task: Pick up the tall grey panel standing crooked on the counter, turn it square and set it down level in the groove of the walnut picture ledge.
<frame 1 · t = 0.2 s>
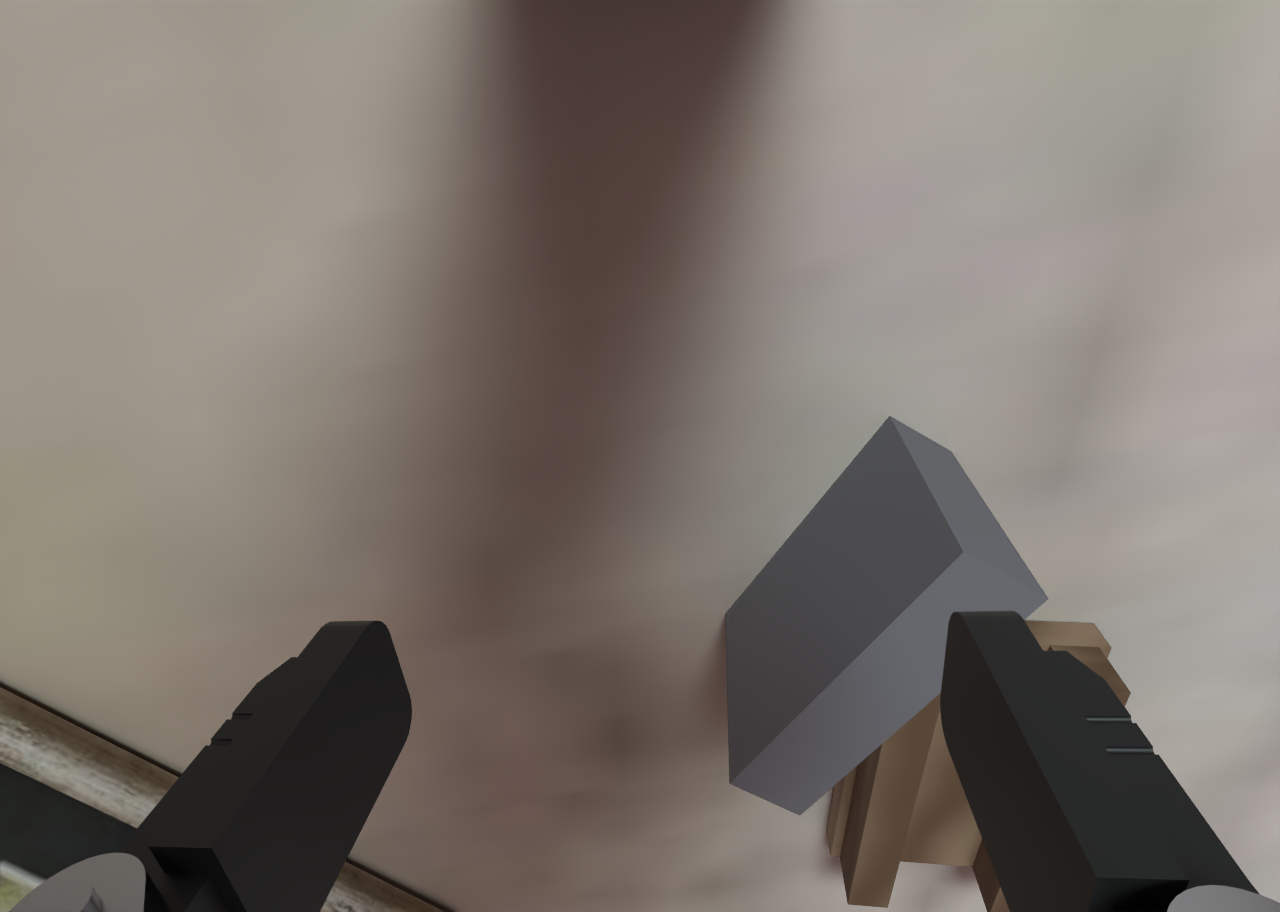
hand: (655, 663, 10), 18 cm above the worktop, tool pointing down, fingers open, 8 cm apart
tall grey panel: (828, 538, 30), on the worktop
picture ledge: (944, 739, 35), on the worktop
picture frame: (215, 829, 45), on the worktop
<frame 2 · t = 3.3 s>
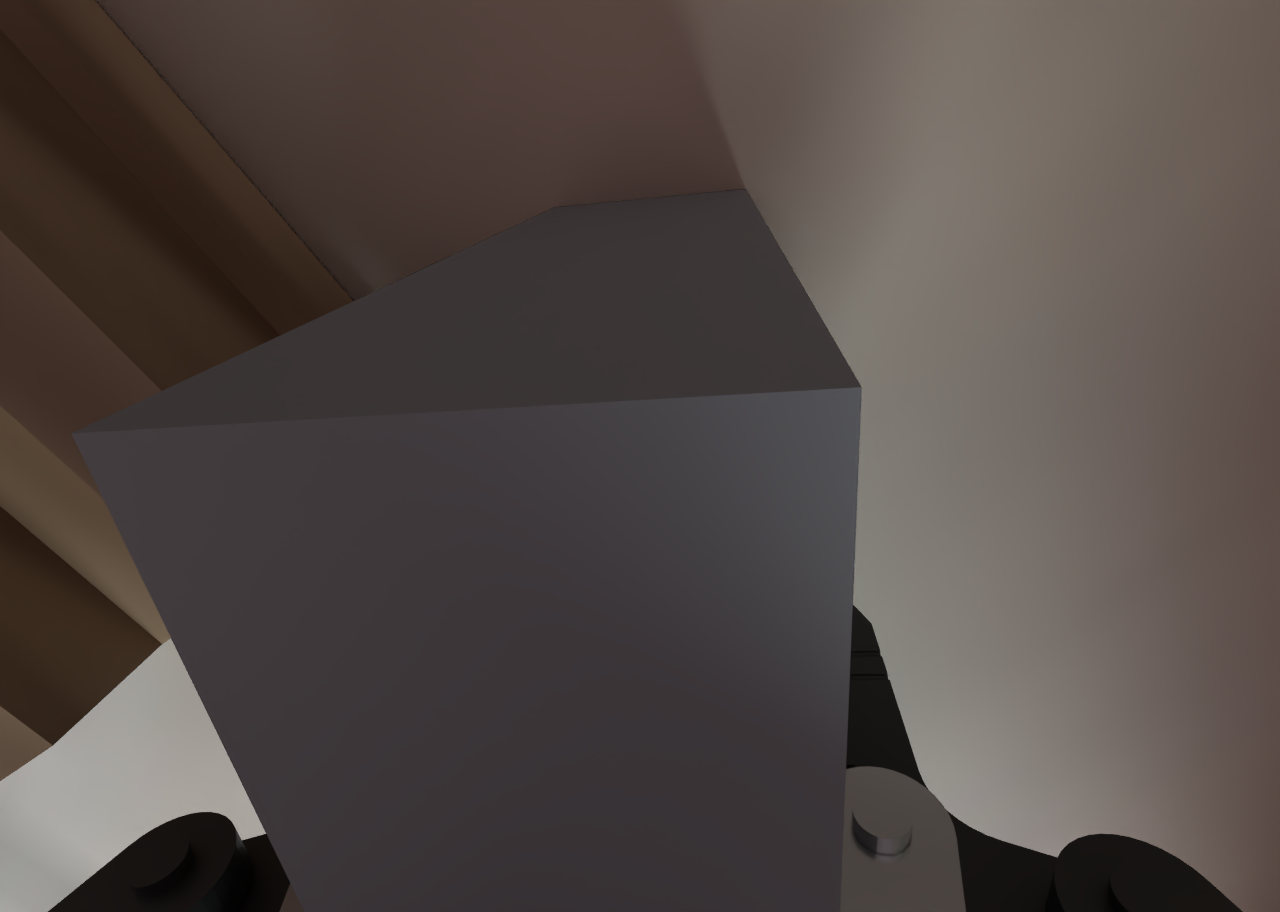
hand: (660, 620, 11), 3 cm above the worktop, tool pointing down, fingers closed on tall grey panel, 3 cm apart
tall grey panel: (677, 529, 13), on the worktop, touching gripper
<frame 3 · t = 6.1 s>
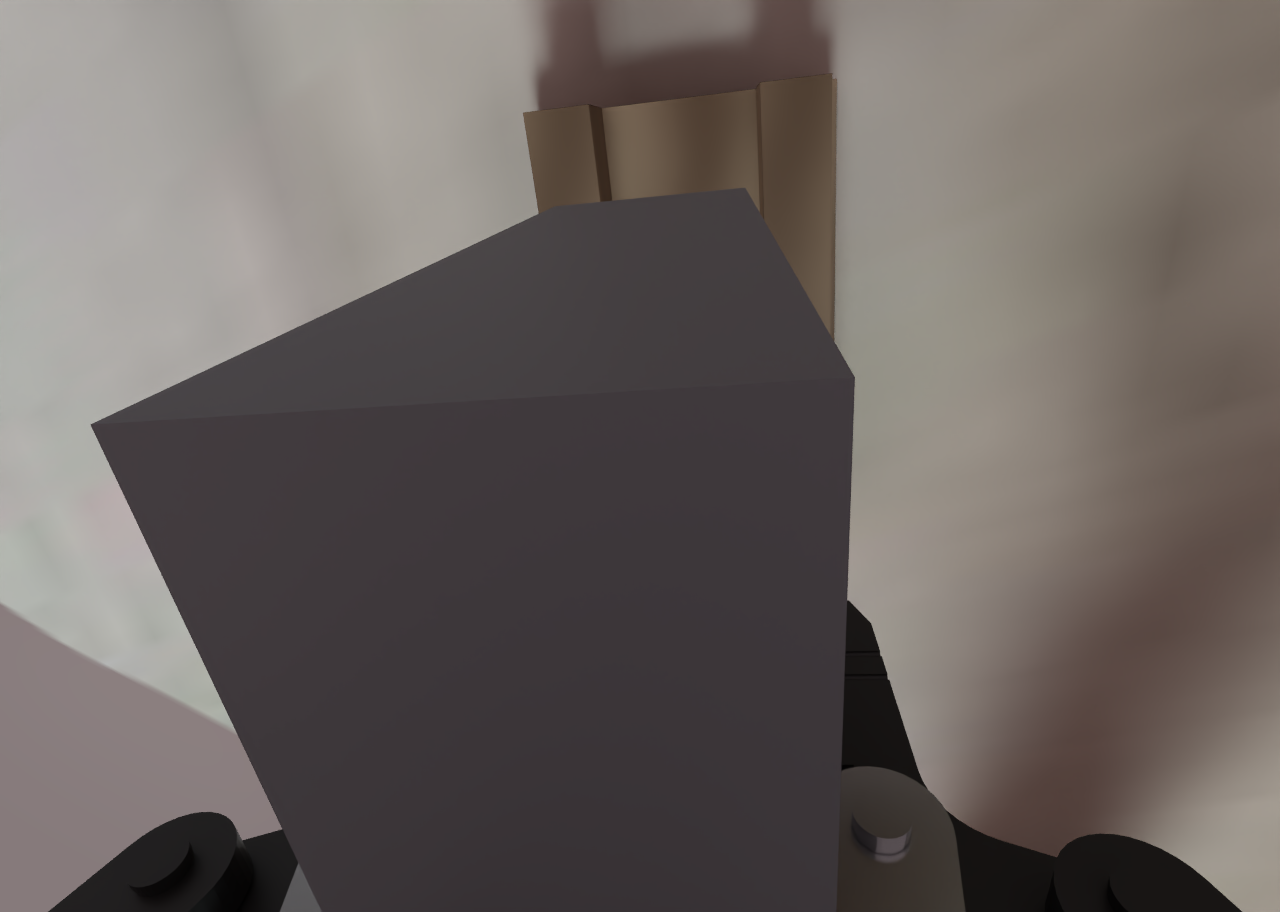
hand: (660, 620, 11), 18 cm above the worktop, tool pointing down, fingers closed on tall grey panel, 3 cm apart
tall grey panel: (677, 526, 13), point 15 cm above the worktop, touching gripper
picture ledge: (696, 330, 27), on the worktop
when the fingers open (6 cm above the worktop, at t = 8.5 s): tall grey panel drops 1 cm, resting on picture ledge.
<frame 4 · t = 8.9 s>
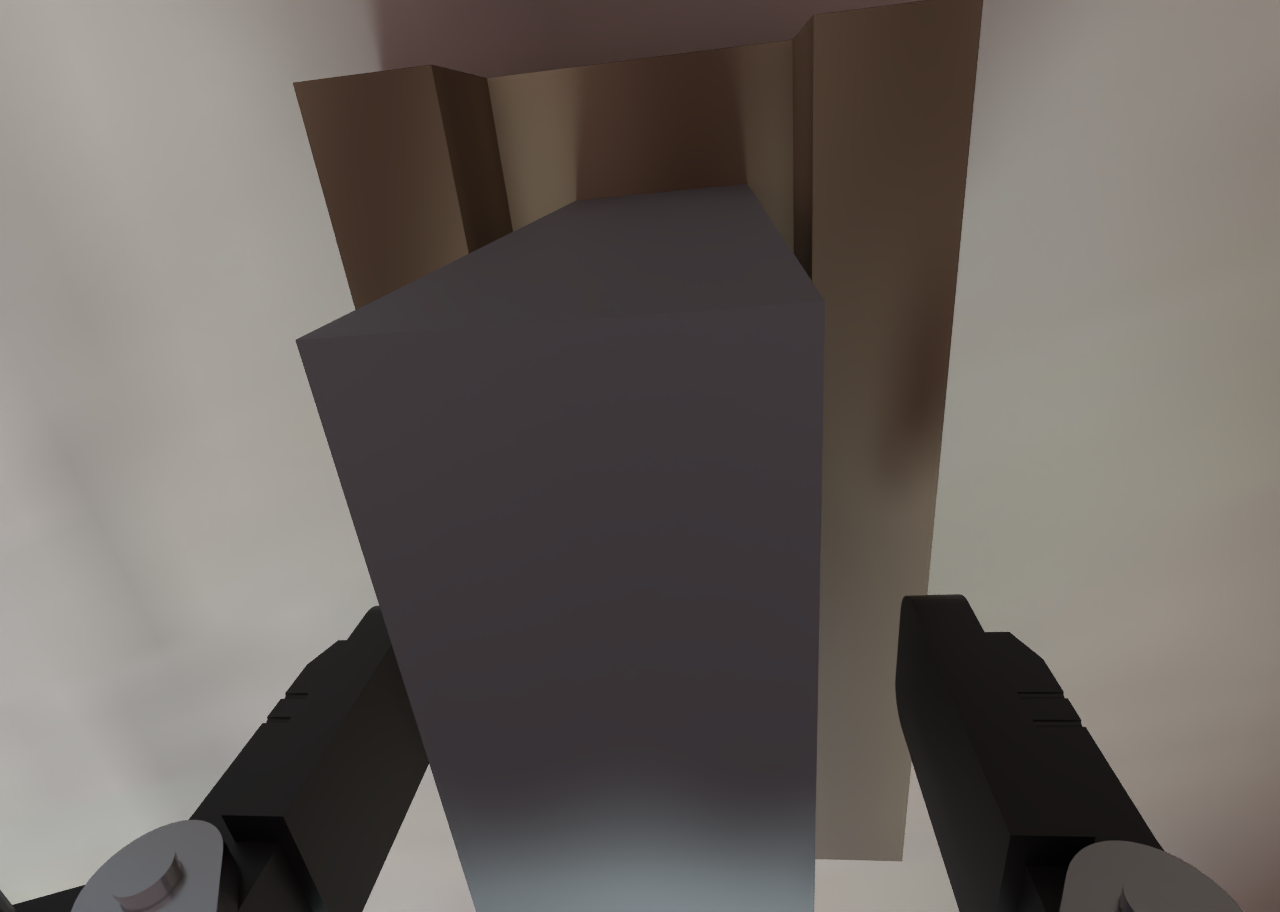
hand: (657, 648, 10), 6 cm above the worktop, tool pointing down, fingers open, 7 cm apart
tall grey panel: (684, 495, 14), point 1 cm above the worktop, touching picture ledge
picture ledge: (677, 462, 16), on the worktop
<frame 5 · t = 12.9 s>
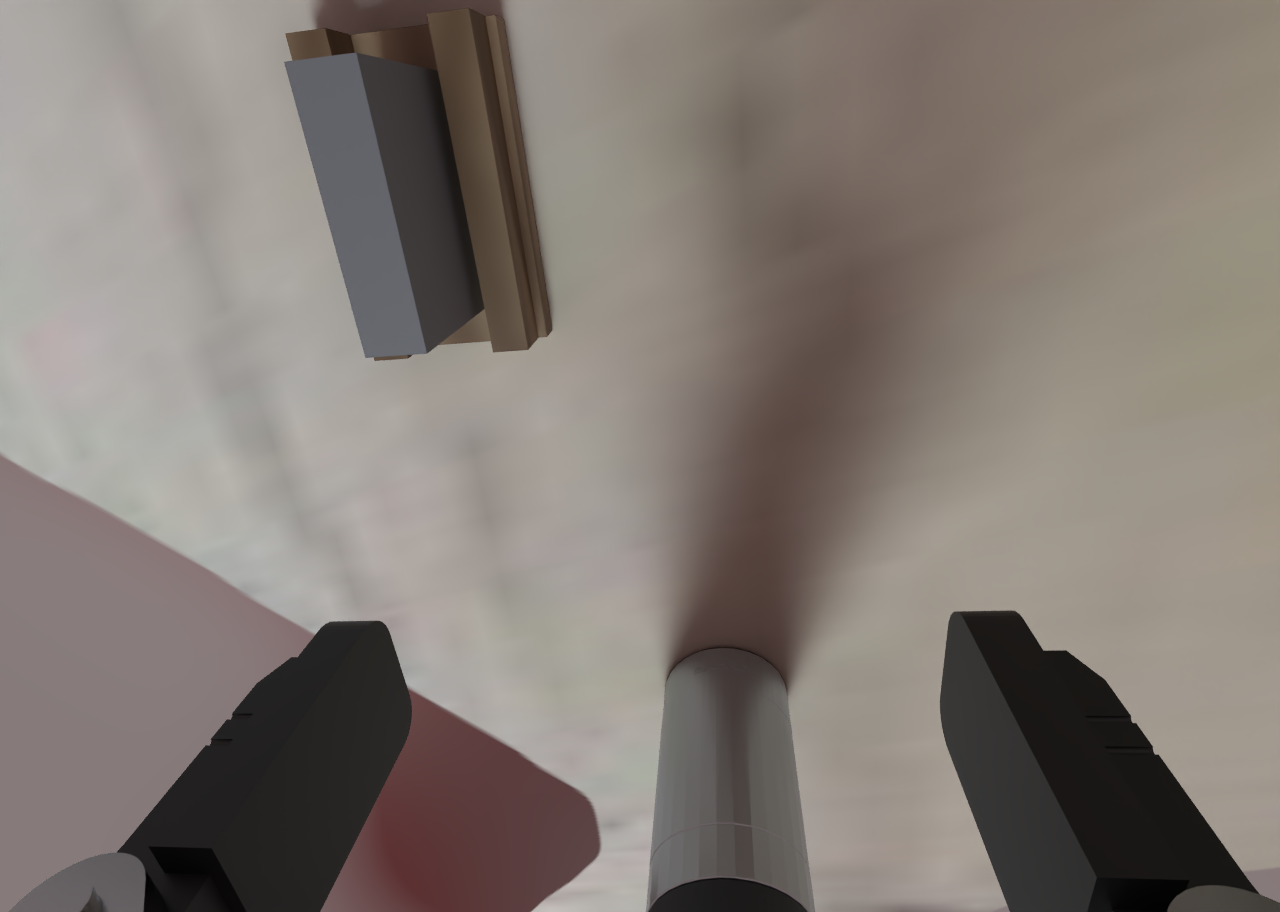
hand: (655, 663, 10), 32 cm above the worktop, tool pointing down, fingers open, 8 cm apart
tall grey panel: (438, 200, 37), point 1 cm above the worktop, touching picture ledge
picture ledge: (444, 197, 38), on the worktop
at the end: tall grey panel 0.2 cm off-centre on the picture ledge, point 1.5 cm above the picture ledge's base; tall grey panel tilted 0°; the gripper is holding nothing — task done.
